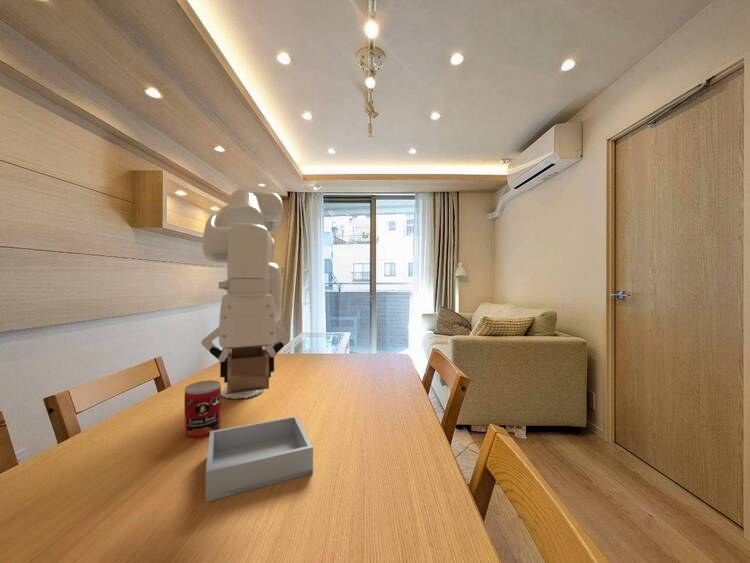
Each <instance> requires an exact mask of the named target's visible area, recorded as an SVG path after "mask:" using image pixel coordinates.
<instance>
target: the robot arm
mask: <svg viewBox="0 0 750 563" xmlns="http://www.w3.org/2000/svg"><path fill="white" fill-rule="evenodd" d="M228 198H229V199H228V205H224V206H222V207H221V208H220V210H219V212H216V213H214V214H211V215H210V216H209V217H208V219H207V220H206V221H205V222H206V223H205V224H204V225H205V226H204V229H203V235H202V246H201V247H202V253H203V254H204V257H205V258H206V259H207V260H208V261H210V262H213V263H216V264H217V263H218V264H219V263H220V264H221V263H222V264H227V265H226V266H227V268H226V269H227V274H226V275H227V276H226V280H225V281H224V280H223V281H219V282H218V289H219V290H225V291H226V292H227V293H226V294H224V295H222V296H221V297H222V298H221V302H220V309H219V310H220V311H219V320H218V321H219V324H218V327H217V328H216V329H214V330H213V331H212V332H210V333H209V334H207V336H205V337H204V338H203V339H202V340H201V342H200V343H201V346H203V347H204V348H205V349H206V350H207V351H208V352H209V353H210V354H211V355H212V356H214V358H216V359H217V361H218V362H220V363H219V364H220V365H219V366H220V368H219V369H220V370H219V371H220V372H219V374H220V379H221V378H224V379H223V381H224V382H223V383H226V384H227V360H228V354H229V352H230V350H231V349H234V348H247V347H260V346H265V348H266V350H267V353H268V355H269V379H270V378H272V375H271V374H272V373H274V371H275V357H276V355H277V354H278V353H279V352H280V351H281V350H282V349H283V348H284V346H285V345H286V344H287V342H288V341H289V340H290V339H291V335H290V334H289V333H288V332H287V331H286V330H284V329H283V328H281V327H280V326H279V325H277V324H276V323H277V322H279V321H280V320H281V318H282V311H283V306H282V305H283V304H282V303H283V300H282V296H283V295H282V272H281V269H280V267H279V265H278V264H277V263H275V262H270V261H271V259H272V258H273V257H274V256H275V250H276V248H275V247H276V246H275V239H274V238H273V237H272V235H274V234H276V233H277V232H278V230H279V228H280V225H281V222H282V220H283V218H284V217H283V216H284V203H283V200H282V198H281V196H280V195H279V194H277V193H275V192H273V191H271V192H270V191H264V190H255V189H246V188H245V189H244V188H241V189H238V190H234V191H233V192H232V193H231V195H230V196H229V197H228ZM277 335H279V336H280V337H281V338H279V340H278V341H277V342H276V340H277ZM217 338H218V344H219V346H220V348H222V349H220V348H219V347H218V346H216V345H215V344H214V343H213V341H214V340H215V339H217ZM275 342H276V343H275ZM273 344H274V345H273ZM264 390H265V389H263V390H255V391H247V392H240V393H232V394H227V386H225V387H224V388H223V389H221V397H223V398H224V397H225V398H224V399H228V398H231V399H230V400H242V399H241V398H244V399H248V397H249V398H252V396H253V397H256V396H258V395H260V394H261V393H262V392H264ZM255 395H256V396H255ZM239 398H240V399H239Z"/></svg>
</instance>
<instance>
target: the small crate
mask: <svg viewBox="0 0 750 563" xmlns="http://www.w3.org/2000/svg"><path fill="white" fill-rule="evenodd" d="M267 352H268V351H267V350H266V348H265V346H260V347H247V348H234V349H231V350H230V352H229V354H228V360H227V383H226V387H227V394H232V393H240V392H247V391H255V390H263V389H264V390H268V389H270V378H269V355H268V353H267ZM264 390H263V391H264Z"/></svg>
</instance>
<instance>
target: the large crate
mask: <svg viewBox="0 0 750 563" xmlns="http://www.w3.org/2000/svg"><path fill="white" fill-rule="evenodd" d="M207 446H208V447H207V448H208V449H207V456H206V465H205V503H207V502H211V501H214V500H218V499H221V498H226V497H229V496H233V495H237V494H241V493H244V492H247V491H248V492H249V491H252V490H256V489H260V488H263V487H266V486H271V485H274V484H277V483H281V482H285V481H286V482H287V481H288V480H293V479H296V478H301V477H304V476H307V475H311V474H313V473H314V446H313V445H312V443H311V440H310V439H309V437H308V435H307V433H306V431H305V428H304V427H303V425H302V423H301V421H300V419H299V417H298V415H293V416H287V417H281V418H277V419H276V418H275V419H271V420H266V421H265V420H264V421H260V422H253V423H248V424H243V425H236V426H232V427H227V428H221V429H220V428H219V429H218V430H215V431H210V435H209V437H208V445H207Z"/></svg>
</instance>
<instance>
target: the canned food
mask: <svg viewBox="0 0 750 563" xmlns="http://www.w3.org/2000/svg"><path fill="white" fill-rule="evenodd" d="M221 392H222V386H221V382H220V381H218V380H213V379H212V380H209V379H208V380H201V381H196V382H194V383H191V384H188V385H186V386H185V387H184V434H185V436H186V437H187V438H190V439H199V438H200V439H201V438H206V437H208V436H210V431H215V430H220V428H221V421H222V420H221V413H222V411H221V408H222V405H221V404H222V403H221V402H222V398H221V397H222V395H221Z"/></svg>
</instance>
